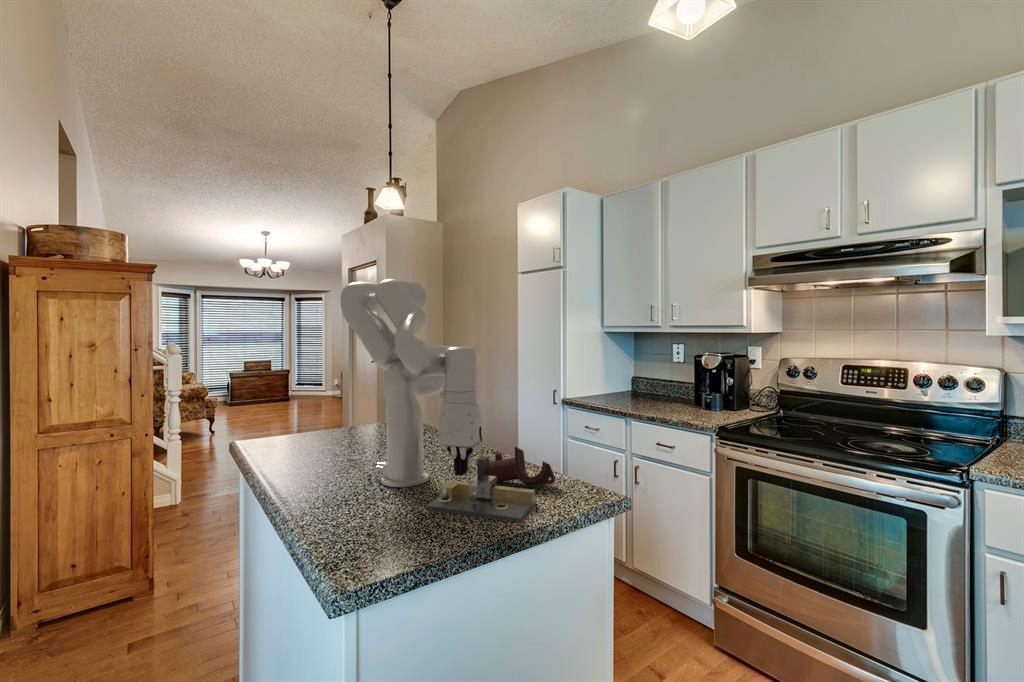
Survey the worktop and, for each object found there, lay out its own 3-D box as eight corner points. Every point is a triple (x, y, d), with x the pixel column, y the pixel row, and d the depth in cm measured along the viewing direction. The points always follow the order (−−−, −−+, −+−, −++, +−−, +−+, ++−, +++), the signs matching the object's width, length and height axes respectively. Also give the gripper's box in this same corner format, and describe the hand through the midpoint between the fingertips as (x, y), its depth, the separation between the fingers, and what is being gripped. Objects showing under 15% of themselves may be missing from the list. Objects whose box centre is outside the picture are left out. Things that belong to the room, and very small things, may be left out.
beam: (436, 498, 110) (436, 488, 110) (448, 490, 116) (448, 480, 116) (526, 510, 102) (526, 499, 102) (534, 500, 109) (534, 490, 109)
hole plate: (426, 510, 105) (426, 504, 105) (450, 493, 117) (450, 488, 117) (520, 523, 98) (520, 517, 98) (536, 503, 110) (536, 498, 110)
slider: (463, 501, 107) (463, 463, 107) (477, 490, 115) (477, 454, 115) (483, 503, 106) (483, 465, 105) (496, 492, 113) (496, 456, 113)
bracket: (552, 481, 117) (547, 441, 121) (488, 490, 121) (485, 451, 125) (557, 484, 123) (552, 445, 127) (495, 492, 126) (492, 455, 130)
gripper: (425, 398, 112) (425, 475, 112) (483, 401, 107) (483, 481, 108) (440, 395, 119) (440, 467, 119) (495, 397, 114) (495, 472, 115)
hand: (460, 474), depth 114 cm, fingers closed
